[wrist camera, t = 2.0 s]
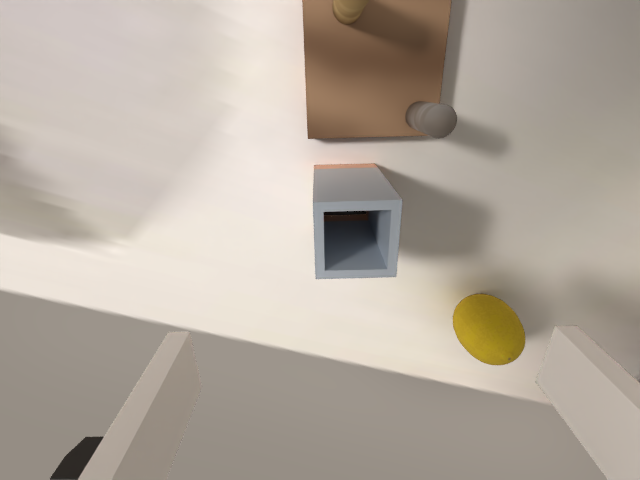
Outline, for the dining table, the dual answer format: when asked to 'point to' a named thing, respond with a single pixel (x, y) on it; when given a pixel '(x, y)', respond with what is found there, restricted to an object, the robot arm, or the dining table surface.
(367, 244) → the sleeve
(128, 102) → the dining table surface
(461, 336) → the lemon
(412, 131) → the pin board
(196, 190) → the dining table surface
